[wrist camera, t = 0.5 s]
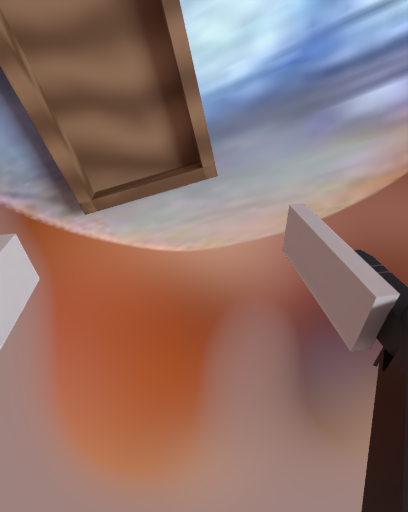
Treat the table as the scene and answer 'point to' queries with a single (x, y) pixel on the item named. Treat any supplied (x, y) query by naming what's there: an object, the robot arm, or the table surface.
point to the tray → (109, 94)
